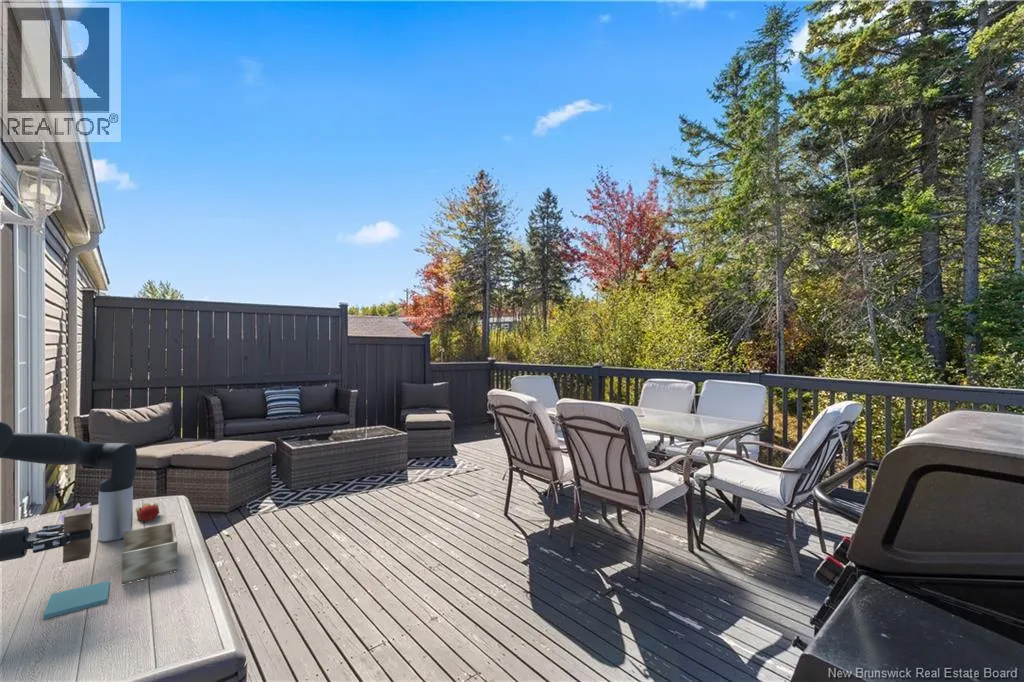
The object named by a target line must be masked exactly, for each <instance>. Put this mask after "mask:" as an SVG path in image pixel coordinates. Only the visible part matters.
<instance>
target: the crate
mask: <svg viewBox="0 0 1024 682" xmlns="http://www.w3.org/2000/svg"><path fill="white" fill-rule="evenodd" d="M123 541H124V542H123V543H124V545H123V552H122V553H121V585H122V584H125V585H127V584H126V583H129V582H133V583H135V582H134V581H137V580H141V579H145V580H148V579H147V578H149V579H152V578H151V577H153V578H156V577H155V576H157V577H160V576H159V575H161V576H164V575H163V574H165V575H167V574H166V573H169V574H171V573H170V572H173V573H175V572H174V571H177V572H178V536H177V530H176V524H175V521H172V522H167V523H161V524H156V525H151V526H146V527H142V528H136V529H132V530H130V531H125V532H124V538H123ZM141 581H142V580H141ZM137 582H138V581H137ZM129 584H130V583H129Z"/></svg>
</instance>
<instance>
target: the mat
mask: <svg viewBox="0 0 1024 682" xmlns="http://www.w3.org/2000/svg"><path fill="white" fill-rule="evenodd" d="M110 585H111V580H105V581H102V582H101V581H100V582H97V583H93V584H90V585H89V584H88V585H86V586H85V585H84V586H80V587H76V588H72V589H68V590H64V591H60V592H56V593H55V592H54V593H52V594H50V597H49V599H48V602H47V605H46V608H45V610H44V612H43V620H46V619H49V618H53V617H58V616H61V615H64V613H65V614H68V612H69V613H72V612H71V611H73V612H76V611H80V610H84V609H87V608H88V609H89V608H91V607H95V606H99V605H103V604H106V603H108V600H109V591H110ZM57 615H58V616H57Z"/></svg>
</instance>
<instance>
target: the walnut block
mask: <svg viewBox="0 0 1024 682" xmlns="http://www.w3.org/2000/svg"><path fill="white" fill-rule="evenodd" d="M92 508H93V507H88V508H87V509H81V510H74V509H73V510H74V511H73V510H68V511H66V513H65V514H66V515H65V517H64V523H63V524H64V533H67V532H70V533H71V532H75V531H81V530H87V529H90V530H91V524H93V523H92V520H93V519H92V518H93V517H92V516H93V509H92ZM91 552H92V532H91V533H90V537H89V538H87V539H81V540H76V541H70V543H67V544H66V545H65V546H63V547H62V564H67V563H70V562H75V561H80V560H85V559H90V556H91Z"/></svg>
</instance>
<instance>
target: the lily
mask: <svg viewBox="0 0 1024 682" xmlns="http://www.w3.org/2000/svg"><path fill="white" fill-rule="evenodd" d="M91 504H92V502H88V503H85V504H84V505H82V506H81V505H80V503H79V502H78V503H77V504H76V505H75V507H74V508H73V510H72V511H74V510H81V509H88V508H90V506H91ZM65 515H66V513H63V514H61V515H60V516H59V517H58V518H59V520H60V522H61V523H62V524H64V517H65ZM63 531H64V530H63Z"/></svg>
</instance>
